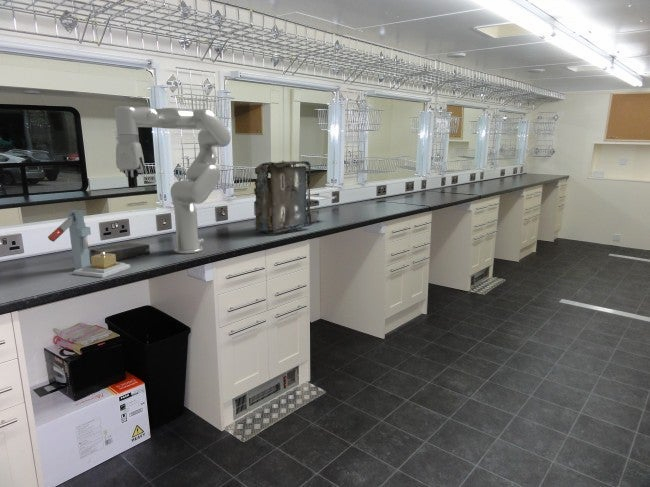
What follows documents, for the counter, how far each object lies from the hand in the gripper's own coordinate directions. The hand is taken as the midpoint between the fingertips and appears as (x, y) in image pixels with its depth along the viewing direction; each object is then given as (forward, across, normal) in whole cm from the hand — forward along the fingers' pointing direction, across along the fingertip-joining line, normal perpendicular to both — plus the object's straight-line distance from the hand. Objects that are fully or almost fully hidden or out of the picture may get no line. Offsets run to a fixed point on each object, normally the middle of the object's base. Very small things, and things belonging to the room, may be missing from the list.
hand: (133, 187), depth 179 cm
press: (+31, -9, -14) cm, 35 cm away
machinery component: (+31, +26, +78) cm, 88 cm away
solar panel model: (+31, +30, +114) cm, 122 cm away
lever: (+14, -16, -19) cm, 28 cm away
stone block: (+32, -16, +6) cm, 36 cm away
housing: (+30, -5, -14) cm, 33 cm away
